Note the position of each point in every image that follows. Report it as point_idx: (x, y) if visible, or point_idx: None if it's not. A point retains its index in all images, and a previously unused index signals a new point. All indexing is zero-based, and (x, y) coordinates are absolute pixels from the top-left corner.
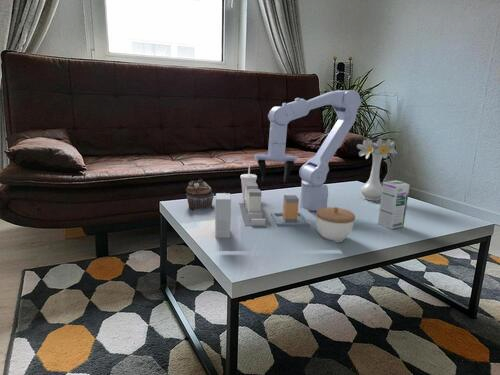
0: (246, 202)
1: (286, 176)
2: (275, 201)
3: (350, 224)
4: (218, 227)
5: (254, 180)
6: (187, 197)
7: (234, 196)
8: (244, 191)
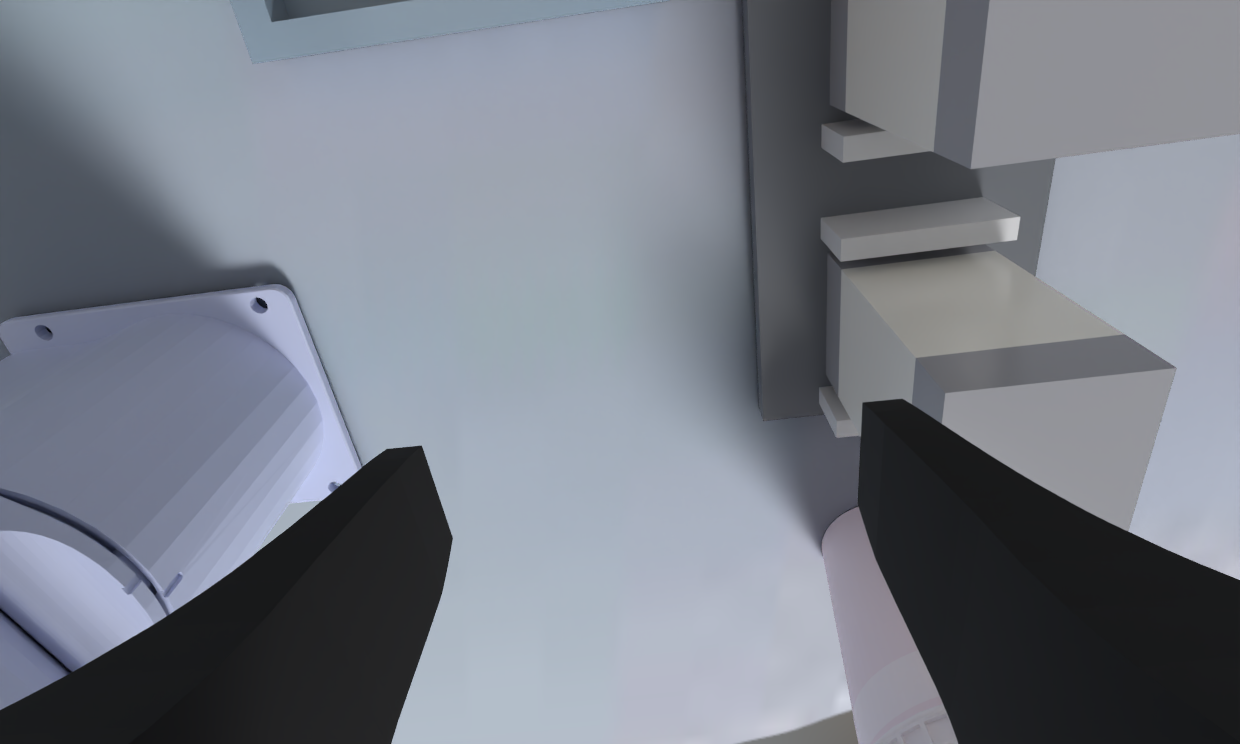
0: (999, 259)
1: (331, 525)
2: (588, 536)
3: None
4: None
5: (899, 715)
6: None
7: None
8: None
